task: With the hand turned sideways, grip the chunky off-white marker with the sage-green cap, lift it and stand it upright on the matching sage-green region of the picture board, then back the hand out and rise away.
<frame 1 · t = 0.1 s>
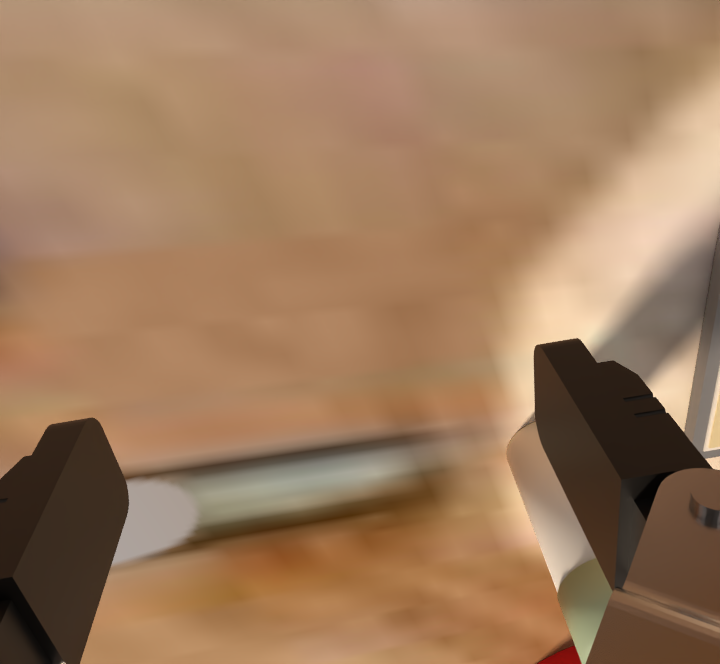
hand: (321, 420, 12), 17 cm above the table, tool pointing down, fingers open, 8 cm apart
marker: (544, 447, 37), on the table
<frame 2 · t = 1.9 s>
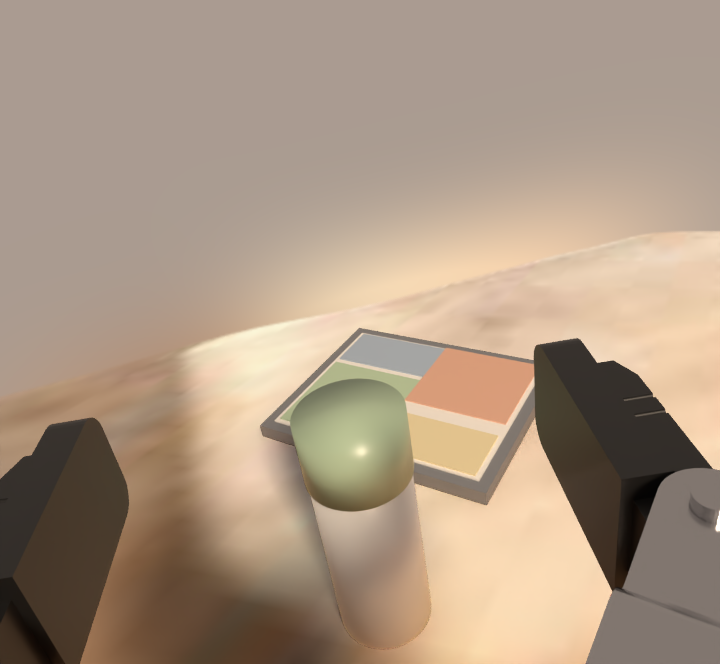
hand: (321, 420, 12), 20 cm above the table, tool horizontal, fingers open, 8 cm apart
picture board: (411, 405, 45), on the table
marker: (385, 607, 32), on the table
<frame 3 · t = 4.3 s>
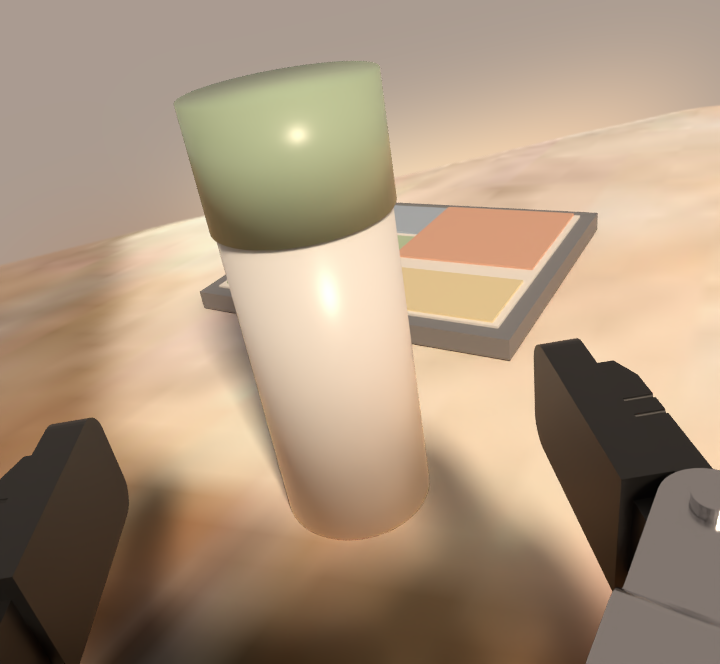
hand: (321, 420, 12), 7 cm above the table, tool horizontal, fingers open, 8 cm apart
picture board: (403, 267, 34), on the table
marker: (358, 485, 21), on the table
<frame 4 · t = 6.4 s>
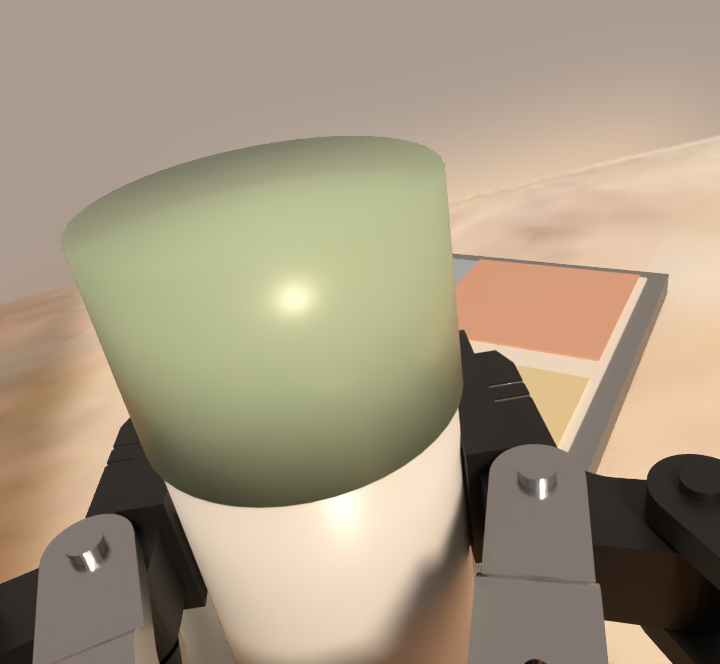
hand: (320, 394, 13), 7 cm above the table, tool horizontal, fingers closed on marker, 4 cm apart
picture board: (427, 342, 27), on the table
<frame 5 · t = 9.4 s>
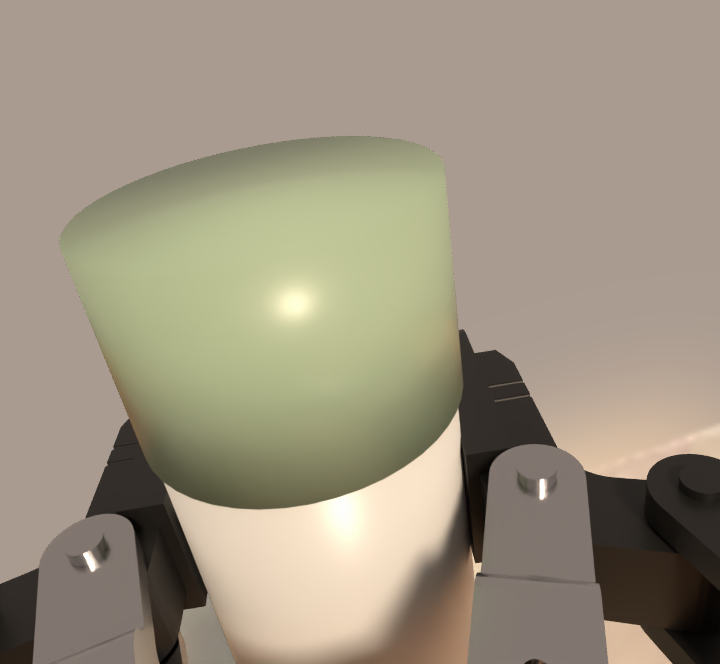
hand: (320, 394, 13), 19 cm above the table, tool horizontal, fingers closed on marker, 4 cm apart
when the fingers open (9 cm above the table, at t = 12.3 s): marker drops 1 cm, resting on picture board.
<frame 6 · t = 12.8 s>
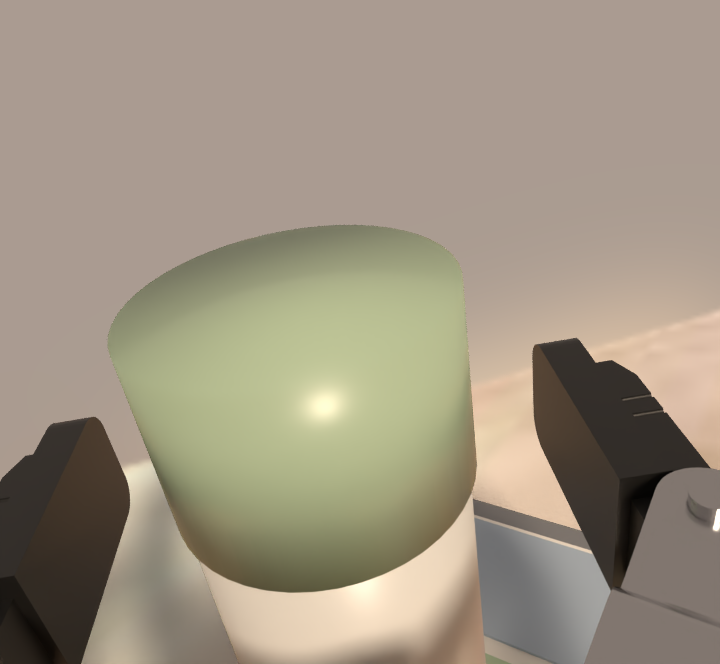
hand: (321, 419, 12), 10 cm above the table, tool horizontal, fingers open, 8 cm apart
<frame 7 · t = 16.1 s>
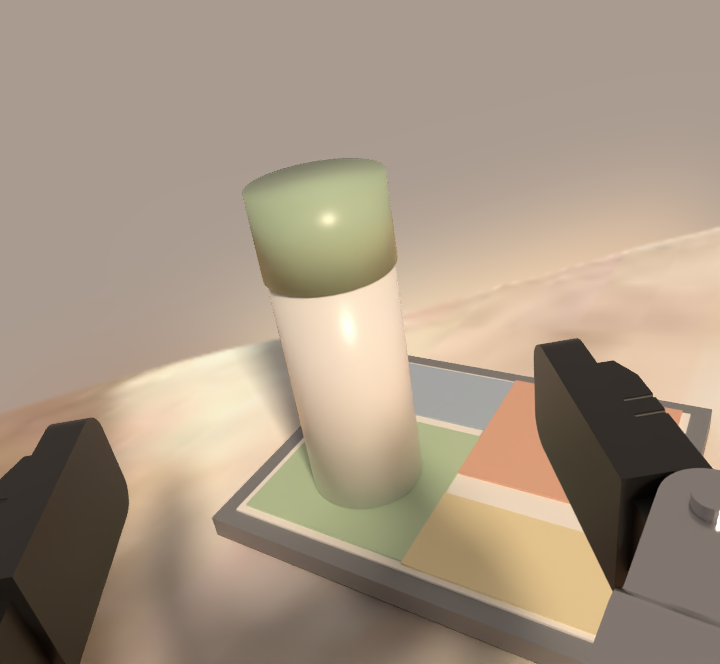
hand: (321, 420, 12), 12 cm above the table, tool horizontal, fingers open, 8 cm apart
picture board: (468, 479, 27), on the table
marker: (368, 469, 27), point 1 cm above the table, touching picture board
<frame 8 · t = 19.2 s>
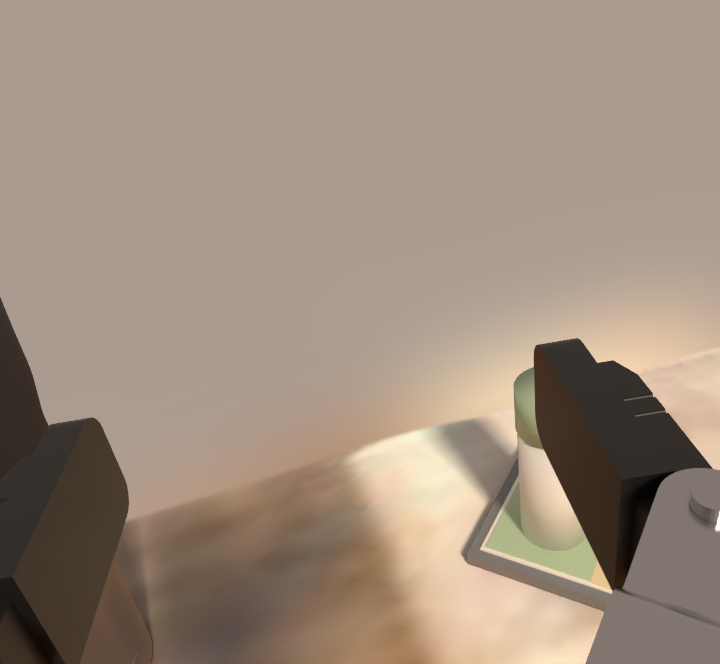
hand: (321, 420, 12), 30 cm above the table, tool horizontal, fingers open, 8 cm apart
picture board: (610, 531, 46), on the table
marker: (553, 525, 46), point 1 cm above the table, touching picture board
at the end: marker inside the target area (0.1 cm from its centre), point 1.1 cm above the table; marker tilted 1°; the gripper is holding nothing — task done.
